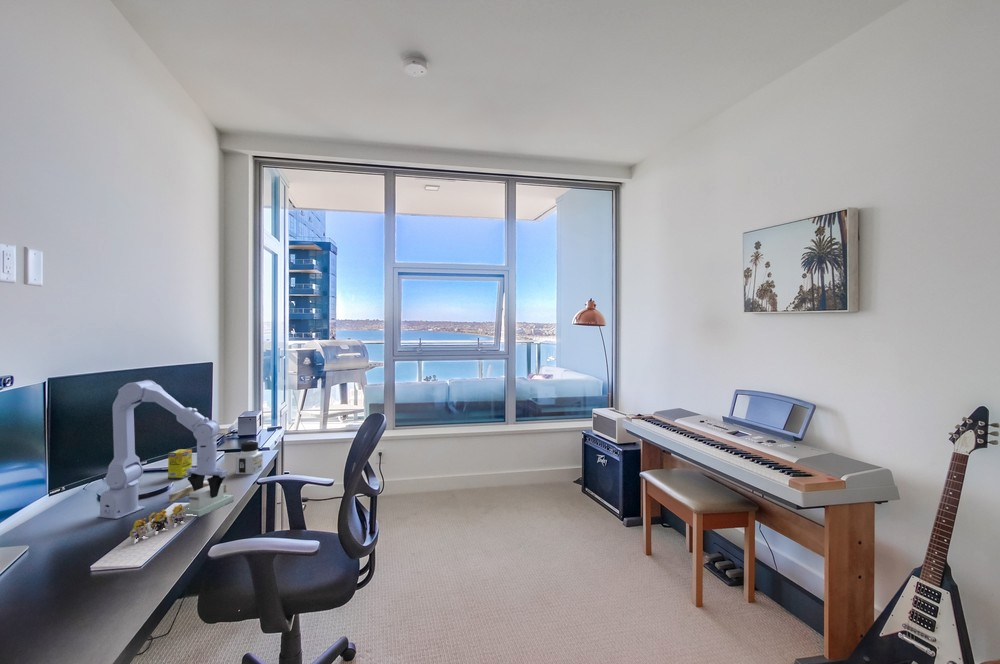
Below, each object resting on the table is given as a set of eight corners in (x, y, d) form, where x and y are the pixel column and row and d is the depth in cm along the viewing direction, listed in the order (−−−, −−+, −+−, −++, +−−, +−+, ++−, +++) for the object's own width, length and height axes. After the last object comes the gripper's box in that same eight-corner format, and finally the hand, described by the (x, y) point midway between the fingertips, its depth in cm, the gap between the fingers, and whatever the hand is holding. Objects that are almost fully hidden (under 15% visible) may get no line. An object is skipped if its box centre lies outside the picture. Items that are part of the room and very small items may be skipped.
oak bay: (196, 504, 158) (196, 497, 158) (168, 501, 161) (168, 494, 161) (226, 491, 171) (226, 485, 171) (200, 489, 174) (200, 482, 174)
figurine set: (125, 543, 129) (125, 520, 129) (181, 521, 145) (181, 500, 145) (134, 545, 128) (134, 522, 128) (189, 522, 144) (189, 502, 144)
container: (253, 474, 192) (253, 443, 192) (235, 474, 192) (235, 443, 192) (262, 469, 200) (263, 439, 200) (245, 468, 200) (245, 439, 200)
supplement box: (182, 479, 185) (182, 453, 185) (167, 479, 185) (167, 452, 185) (192, 475, 190) (192, 449, 191) (178, 474, 191) (178, 449, 191)
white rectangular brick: (197, 512, 150) (197, 494, 150) (187, 511, 151) (187, 493, 151) (223, 501, 160) (223, 484, 160) (213, 500, 161) (214, 483, 161)
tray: (198, 517, 148) (198, 511, 148) (176, 514, 149) (176, 508, 149) (233, 501, 162) (233, 495, 162) (213, 499, 164) (213, 493, 164)
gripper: (233, 455, 158) (233, 493, 158) (198, 452, 161) (198, 490, 161) (217, 460, 151) (217, 501, 151) (181, 457, 154) (180, 497, 154)
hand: (206, 496), depth 156 cm, fingers open, 6 cm apart
